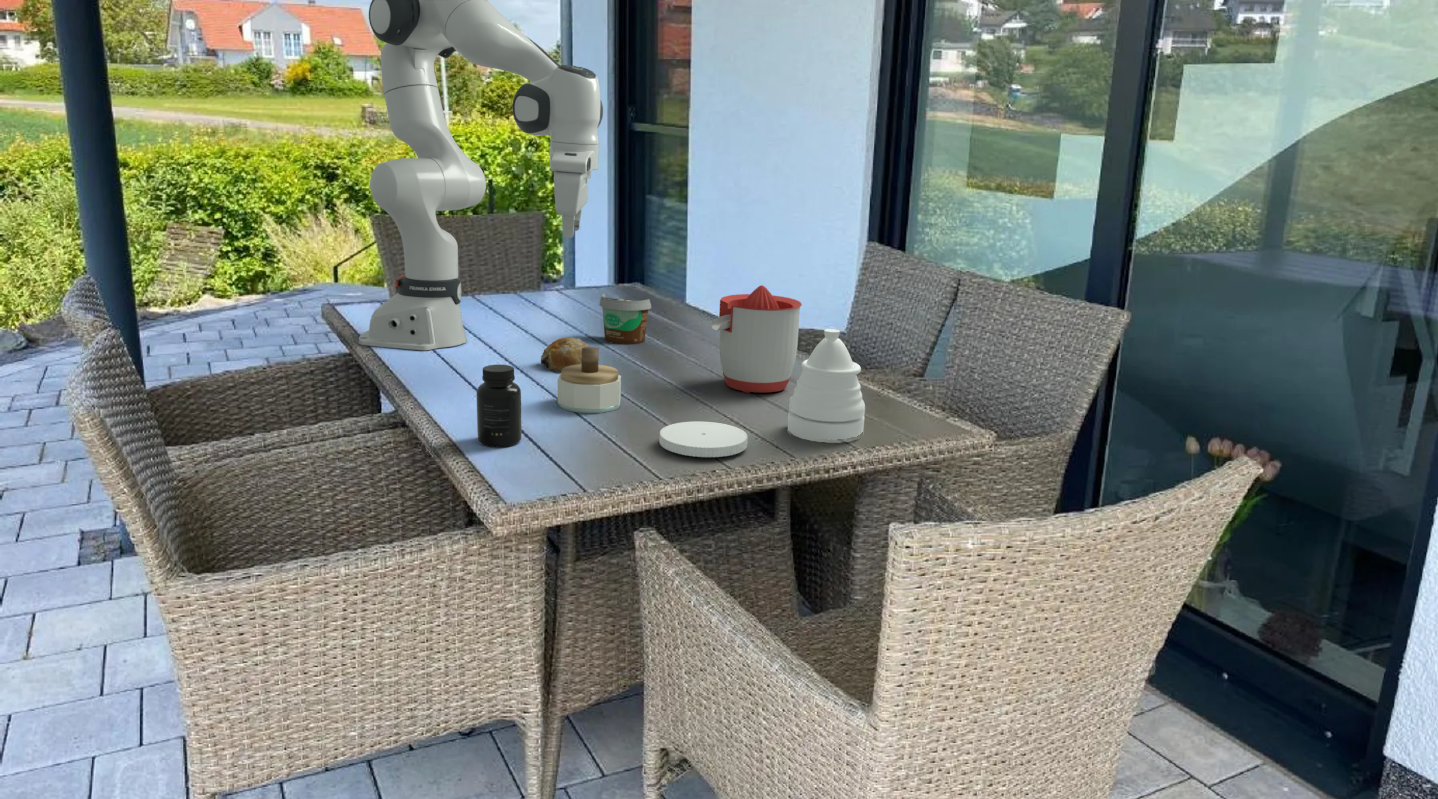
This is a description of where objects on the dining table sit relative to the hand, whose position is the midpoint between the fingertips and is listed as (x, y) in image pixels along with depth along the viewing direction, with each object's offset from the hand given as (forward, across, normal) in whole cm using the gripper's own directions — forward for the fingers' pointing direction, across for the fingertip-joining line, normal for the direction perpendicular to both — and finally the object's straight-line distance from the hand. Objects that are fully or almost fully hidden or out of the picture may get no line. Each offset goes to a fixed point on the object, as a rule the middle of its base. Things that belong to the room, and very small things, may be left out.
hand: (571, 233), depth 202 cm
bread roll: (+29, -9, -1) cm, 30 cm away
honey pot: (+26, +29, +47) cm, 61 cm away
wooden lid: (+22, +18, +6) cm, 30 cm away
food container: (+29, -34, +8) cm, 45 cm away
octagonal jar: (+28, +18, +6) cm, 34 cm away
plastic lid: (+27, +40, +27) cm, 55 cm away
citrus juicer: (+27, +1, +36) cm, 45 cm away
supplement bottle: (+28, +41, -6) cm, 50 cm away
